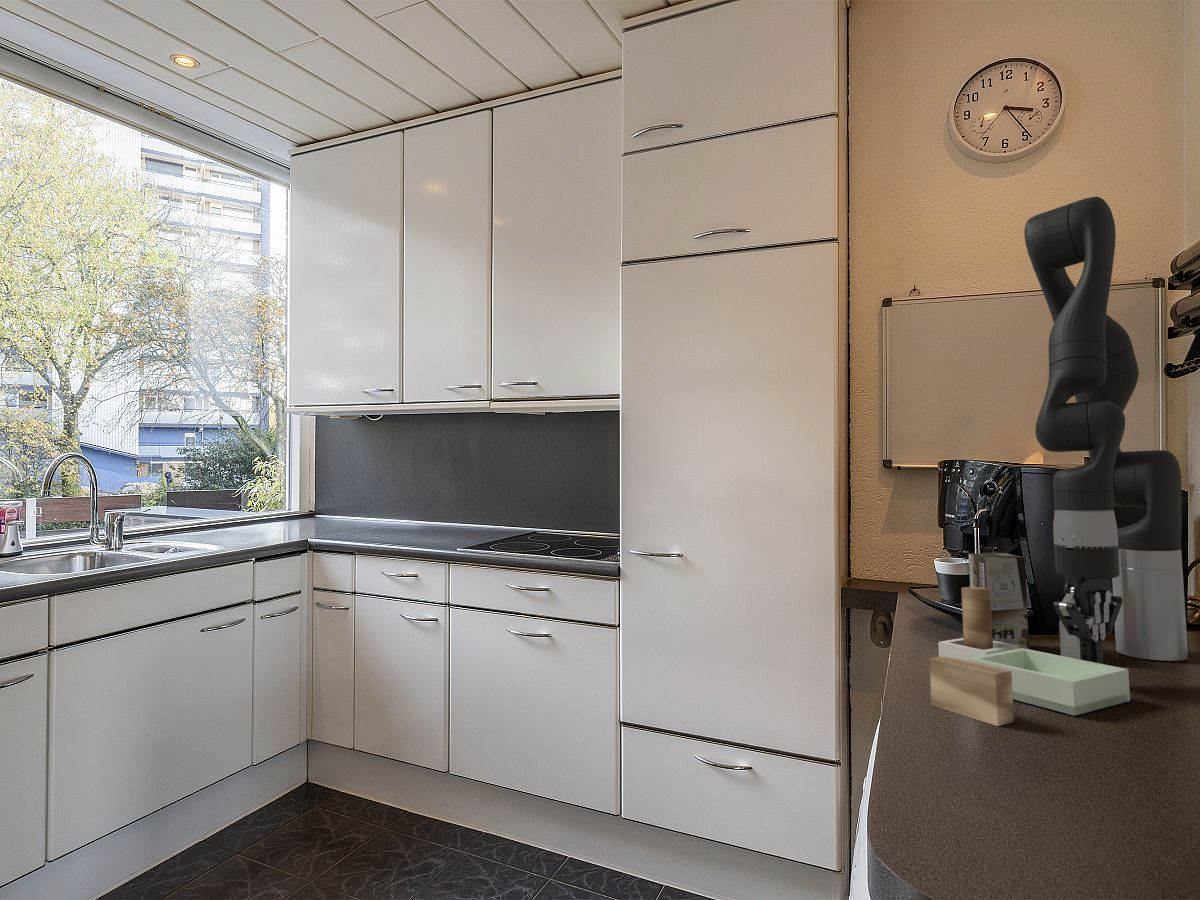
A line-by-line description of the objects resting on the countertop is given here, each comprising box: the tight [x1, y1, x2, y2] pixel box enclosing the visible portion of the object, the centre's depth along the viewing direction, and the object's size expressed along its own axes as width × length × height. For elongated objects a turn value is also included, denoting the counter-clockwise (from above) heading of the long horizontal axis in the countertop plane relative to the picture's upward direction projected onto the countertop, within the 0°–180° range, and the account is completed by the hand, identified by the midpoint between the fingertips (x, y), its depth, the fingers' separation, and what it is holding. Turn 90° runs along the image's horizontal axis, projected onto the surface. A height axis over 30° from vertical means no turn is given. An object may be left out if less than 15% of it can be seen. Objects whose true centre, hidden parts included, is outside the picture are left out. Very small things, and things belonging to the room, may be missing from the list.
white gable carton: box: [1058, 619, 1080, 660], centre depth 114 cm, size 4×7×10 cm, turn 146°
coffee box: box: [968, 552, 1030, 650], centre depth 122 cm, size 9×6×16 cm
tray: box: [968, 648, 1131, 716], centre depth 95 cm, size 12×14×4 cm
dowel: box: [961, 586, 993, 650], centre depth 110 cm, size 4×4×12 cm
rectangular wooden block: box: [928, 656, 1015, 727], centre depth 88 cm, size 3×9×6 cm, turn 26°
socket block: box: [937, 637, 1020, 661], centre depth 110 cm, size 8×8×4 cm
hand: (1091, 666), depth 99 cm, fingers closed
